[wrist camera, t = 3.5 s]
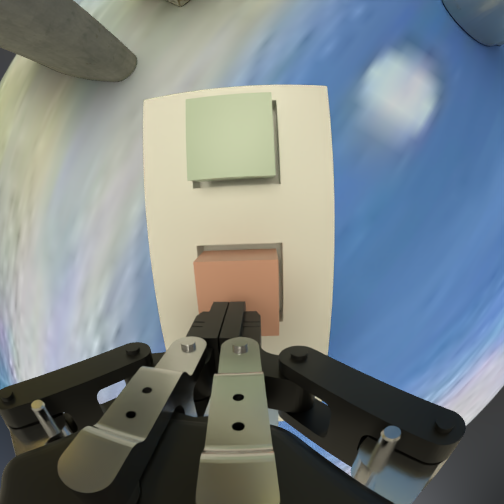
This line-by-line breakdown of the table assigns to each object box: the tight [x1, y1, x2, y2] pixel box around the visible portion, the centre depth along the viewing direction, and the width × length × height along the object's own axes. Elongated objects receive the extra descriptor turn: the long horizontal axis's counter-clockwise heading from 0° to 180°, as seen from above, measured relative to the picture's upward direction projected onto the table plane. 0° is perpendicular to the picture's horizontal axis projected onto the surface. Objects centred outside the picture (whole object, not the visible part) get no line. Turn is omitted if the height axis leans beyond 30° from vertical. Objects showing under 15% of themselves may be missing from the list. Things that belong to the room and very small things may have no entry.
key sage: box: [186, 92, 276, 182], centre depth 15 cm, size 5×5×3 cm
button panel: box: [143, 85, 334, 421], centre depth 20 cm, size 12×26×4 cm, turn 2°
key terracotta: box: [193, 249, 279, 336], centre depth 17 cm, size 5×5×3 cm
